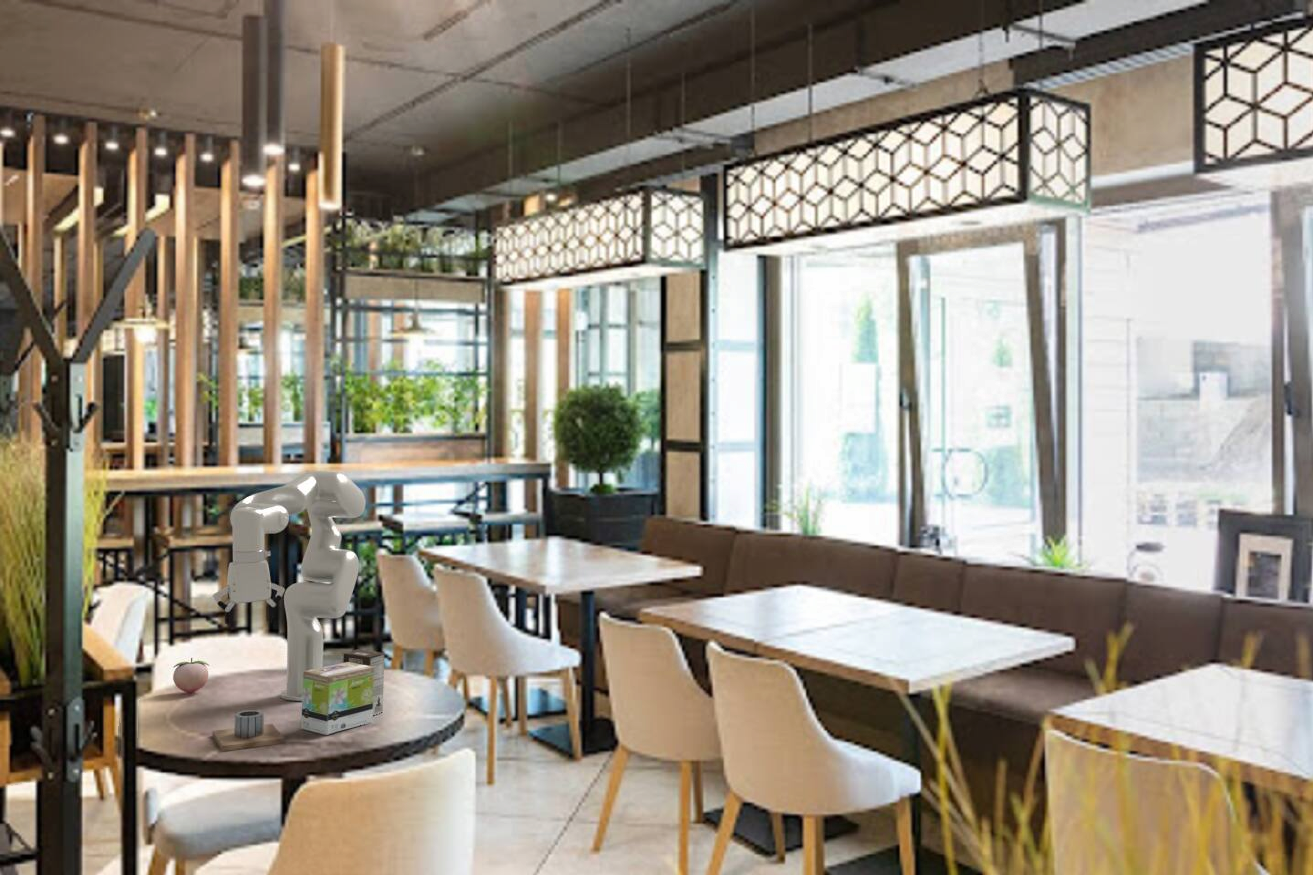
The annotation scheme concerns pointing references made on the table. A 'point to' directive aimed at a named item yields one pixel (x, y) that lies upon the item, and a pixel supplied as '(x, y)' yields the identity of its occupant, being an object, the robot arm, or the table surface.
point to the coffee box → (378, 663)
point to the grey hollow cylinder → (249, 724)
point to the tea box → (337, 697)
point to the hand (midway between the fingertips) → (249, 624)
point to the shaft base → (247, 739)
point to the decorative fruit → (190, 675)
